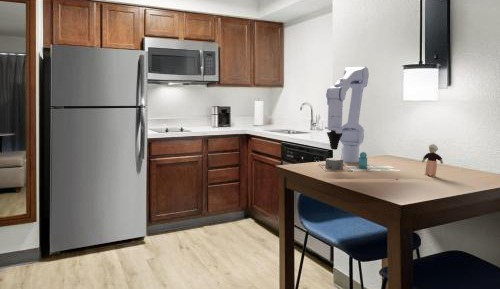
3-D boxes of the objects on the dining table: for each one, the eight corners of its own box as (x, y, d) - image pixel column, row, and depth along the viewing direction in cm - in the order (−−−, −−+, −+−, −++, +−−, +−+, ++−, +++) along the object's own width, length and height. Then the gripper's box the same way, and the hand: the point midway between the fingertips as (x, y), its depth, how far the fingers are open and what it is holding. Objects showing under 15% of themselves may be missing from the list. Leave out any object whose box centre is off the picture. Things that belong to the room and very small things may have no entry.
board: (318, 167, 168) (318, 164, 168) (389, 168, 169) (389, 164, 169) (325, 174, 154) (325, 170, 154) (402, 174, 155) (403, 171, 155)
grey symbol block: (325, 170, 162) (325, 158, 162) (333, 169, 165) (334, 157, 164) (334, 172, 158) (334, 160, 158) (342, 171, 161) (343, 159, 160)
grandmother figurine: (420, 176, 152) (422, 143, 151) (421, 174, 156) (423, 142, 154) (442, 178, 149) (444, 145, 147) (442, 176, 152) (444, 144, 150)
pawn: (357, 167, 163) (358, 151, 162) (365, 167, 163) (366, 151, 162) (359, 168, 160) (360, 152, 159) (368, 168, 160) (368, 152, 159)
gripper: (321, 115, 167) (320, 146, 168) (329, 117, 152) (328, 151, 154) (338, 115, 167) (337, 147, 168) (347, 117, 152) (345, 151, 154)
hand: (333, 149), depth 161 cm, fingers closed
